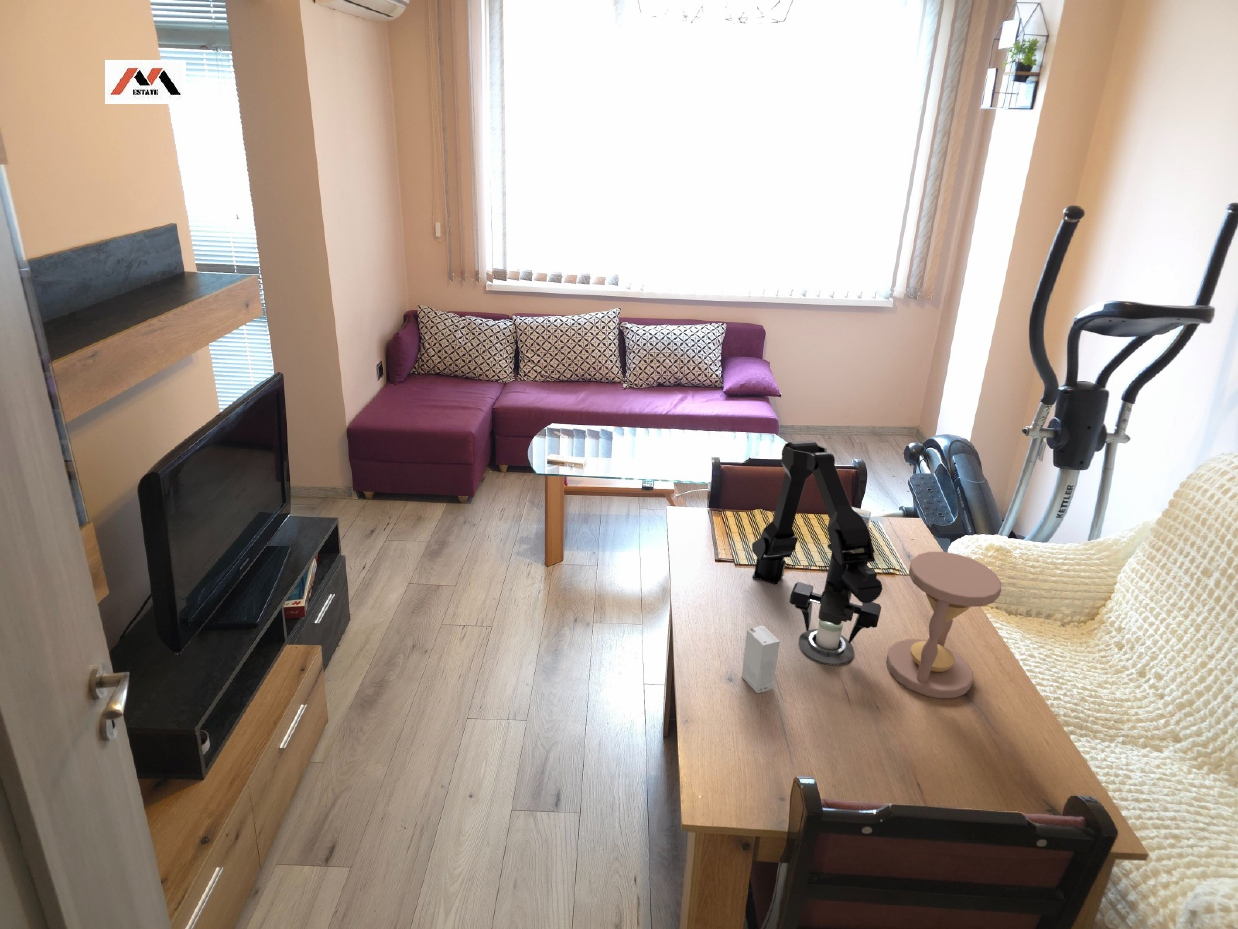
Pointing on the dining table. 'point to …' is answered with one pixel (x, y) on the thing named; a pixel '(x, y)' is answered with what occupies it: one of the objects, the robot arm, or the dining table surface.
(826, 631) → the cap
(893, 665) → the hourglass
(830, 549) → the robot arm
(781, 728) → the dining table surface
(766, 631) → the skincare box
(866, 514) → the medicine box
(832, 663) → the collar
